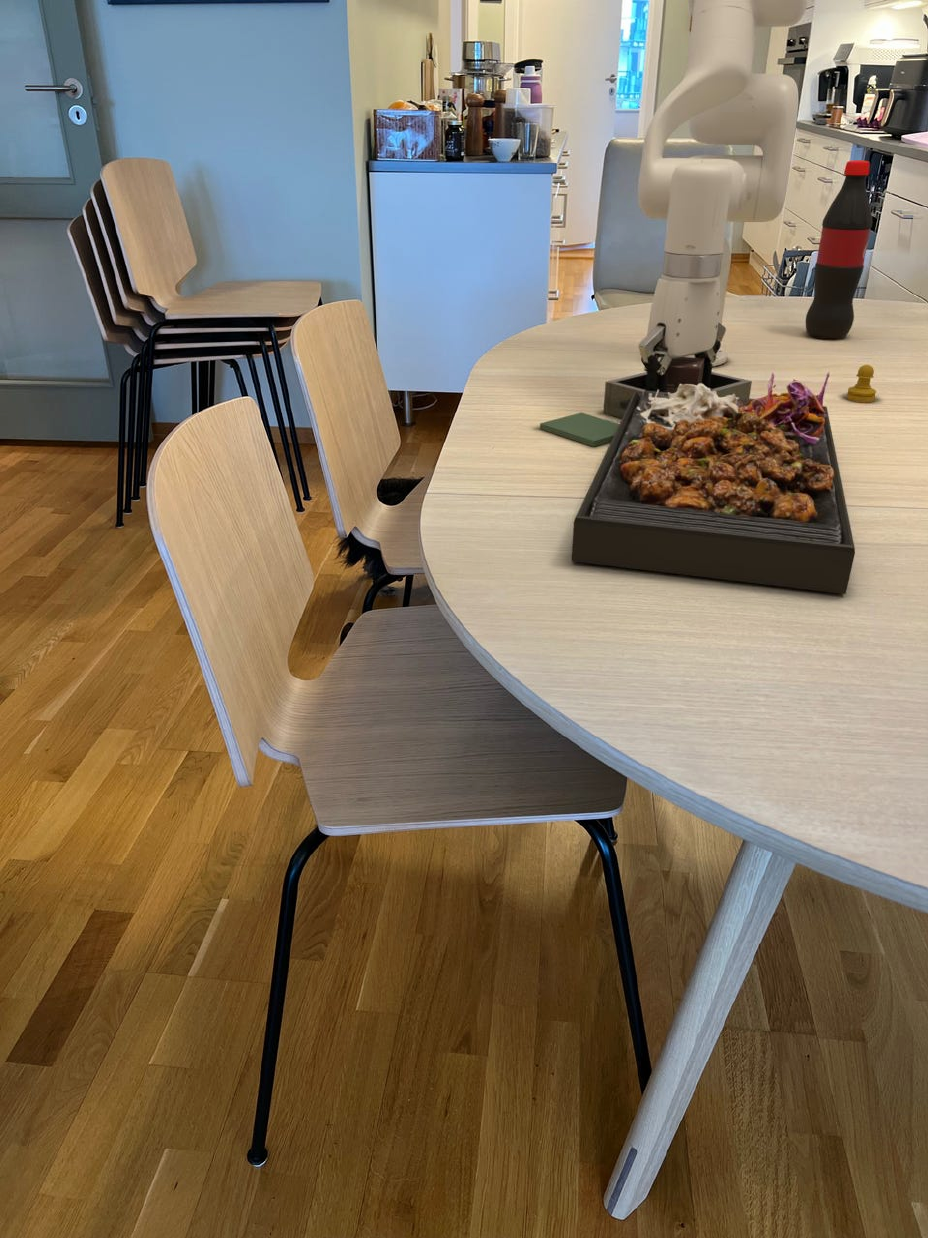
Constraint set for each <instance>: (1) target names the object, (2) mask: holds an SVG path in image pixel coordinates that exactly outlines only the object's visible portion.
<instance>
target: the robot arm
mask: <svg viewBox="0 0 928 1238" xmlns="http://www.w3.org/2000/svg"><path fill="white" fill-rule="evenodd" d="M687 1H688V5H689V9H690V10H689V11H690V13H691V27H690V35H689V43H688V44H689V45H688V51H687V58H686V67H685V74H684V77H683V79H682V80H681V81H680V82H679V84H678V85H677V86H676V87H675V88H674V89H673V90H672V91H671V92H670V93H669V94H668V95H667V96H666V97H665V98H664V100H662V102H661V103H660V105H659V106H658V108H657V109H656V111H655V112H654V114H653V116H652V119H651V120H650V122H649V124H648V127H647V128H646V129H647V130H646V133H645V136H644V140H643V145H642V153H641V159H640V165H639V167H640V168H639V173H638V183H637V203H638V207H639V210H640V211H641V212H642V214H643V215H645V216H646V217H648V218H650V219H657V220H666V231H665V240H664V249H663V250H664V251H663V259H662V270H661V277H660V278H658V280H657V283H656V286H655V290H654V294H653V297H652V302H651V307H650V312H649V319H648V325H647V333H646V336H645V337H644V338H643V339H641V340H640V341H639V343H638V350H639V354H640V357H641V358H640V361H641V363H642V365H643V370H644V372H647V378H646V389H645V390H647V391H656V392H657V390H659V392H666V390H667V381H668V374H664V373H665V371H666V370H667V368H668V366H669V364H670V363H671V361H672V359H673V358H680V357H691V358H704V368H703V376H702V384H703V385H705V386H706V387H707V388H710V381H711V373H712V372H713V367H717V366H720V365H723V364H724V363H726V362H727V359H728V353H726V352H725V351H724V350H723V349H720V348H721V346H722V343H721V342H722V341H723V339H724V336H725V334H726V331H727V328H726V326H725V325H723V317H724V309H725V304H726V303H725V302H726V294H727V287H728V280H729V271H730V265H731V256H732V255H731V247H730V244H729V241H728V240H727V238H726V232H727V231H726V230H727V222H728V223H729V222H730V223H731V222H734V223H735V222H736V223H767V222H771V221H774V220H775V219H777V218H778V217H779V216H780V214H781V213H782V211H783V209H784V205H785V202H786V198H787V197H786V196H787V192H788V185H789V179H790V172H791V164H792V157H793V149H794V143H795V137H796V129H797V121H798V112H799V89H798V85H797V83H796V80H794V78H792V77H791V76H790V75H787V74H784V73H754V72H753V63H754V61H753V60H754V53H755V46H756V32H757V28H783V27H784V28H785V27H793V26H794V25H795V26H796V24H798V23H799V22H800V21H801V20H802V18H803V17H804V14H805V12H806V10H807V7H808V4H809V0H687ZM687 121H689V122H688V124H689V125H688V126H689V133H690V136H691V138H692V139H693V140H694V141H695V142H697V143H701V144H705V145H714V146H715V145H718V146H719V145H720V146H722V145H723V146H757V147H759V148H760V150H761V151H762V154H760V155H759V154H757V155H756V154H752V155H751V154H711V153H710V154H698V155H693V156H690V157H663V155H664V150H665V145H666V143H667V142H668V139H669V138H670V137H671V135H672V134H673V133H674V132H675V131H676V130H677V129H678V128H679V127H680V126H681V125H683V124H684V123H686V122H687ZM661 358H663V359H662V361H661V363H659V361H660V359H661Z"/></svg>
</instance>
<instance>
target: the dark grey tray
mask: <svg viewBox="0 0 928 1238" xmlns="http://www.w3.org/2000/svg"><path fill="white" fill-rule="evenodd" d="M646 378H647V372H646V371H644V372H639V373H636V374H632V375H629V376H628V375H627V376H625V377H620V378H616V379H611V380H608V381H605V384H604V397H603V399H604V400H603V413H602V414H605V415H608V416H611V417H614V418H618V419H621V420H622V418H623V416H624V413H625V411H626V409H627V407H628V405H629V403H630V401H631V399H632V396H633V394H634V392H640V393H642V392H644V391H647V390H645V389H646ZM752 384H753V381H752V380H749V379H744V378H739V377H736V376H731V375H727V374H723V373H718V372H715V371H712V373H711V381H710V388H711V389H710V391H711V392H713V391H716V393H717V396H719V397H726V396H727V395H733V394H735V397H737V398H746V399H751V398H750V397H751V390H752Z"/></svg>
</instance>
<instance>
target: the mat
mask: <svg viewBox="0 0 928 1238" xmlns="http://www.w3.org/2000/svg"><path fill="white" fill-rule="evenodd" d="M619 424H620V423H618V422H614V421H611V420H607V419H604V418H602V417H597V416H595V415H591V414H588V413H585V412H582V411H581V412H578V413H574V414H569V415H567V416H563V417H559V418H556V419H551V420H547V421H543V422H540V423H539V429H540V430H541V431H544V432H545V431H546V432H548V433H552V434H554V435H557V436H560V437H564V438H566V439H569V440H572V441H576V442H578V443H581V444H584V445H587V446H590V447H593V448H595V447H598V446H601V445H605V444H608V443H611V441H612V439H613V437H614V435H615V433H616V430H617V428H618V426H619Z"/></svg>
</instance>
